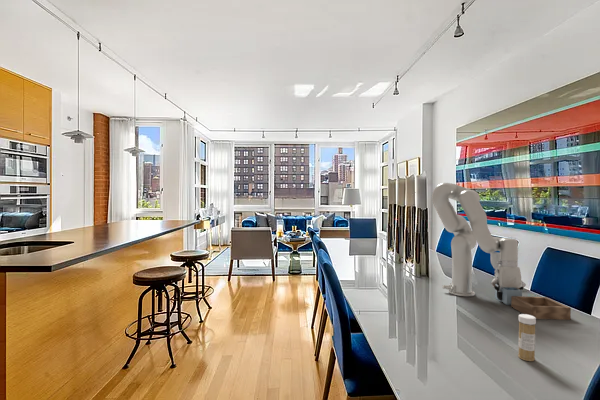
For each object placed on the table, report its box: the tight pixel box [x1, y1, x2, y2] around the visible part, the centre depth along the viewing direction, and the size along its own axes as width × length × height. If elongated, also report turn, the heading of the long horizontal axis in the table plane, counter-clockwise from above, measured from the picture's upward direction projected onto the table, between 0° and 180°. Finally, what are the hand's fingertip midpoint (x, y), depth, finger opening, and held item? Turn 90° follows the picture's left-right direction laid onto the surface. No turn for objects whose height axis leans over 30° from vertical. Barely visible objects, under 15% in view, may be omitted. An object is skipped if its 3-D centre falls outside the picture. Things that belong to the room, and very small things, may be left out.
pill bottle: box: [517, 313, 537, 362], centre depth 108 cm, size 5×5×14 cm
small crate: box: [494, 284, 523, 306], centre depth 169 cm, size 7×11×7 cm, turn 177°
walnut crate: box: [510, 295, 572, 321], centre depth 152 cm, size 16×16×5 cm
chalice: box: [489, 251, 500, 282], centre depth 206 cm, size 7×7×18 cm
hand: (508, 299), depth 169 cm, fingers open, 7 cm apart
